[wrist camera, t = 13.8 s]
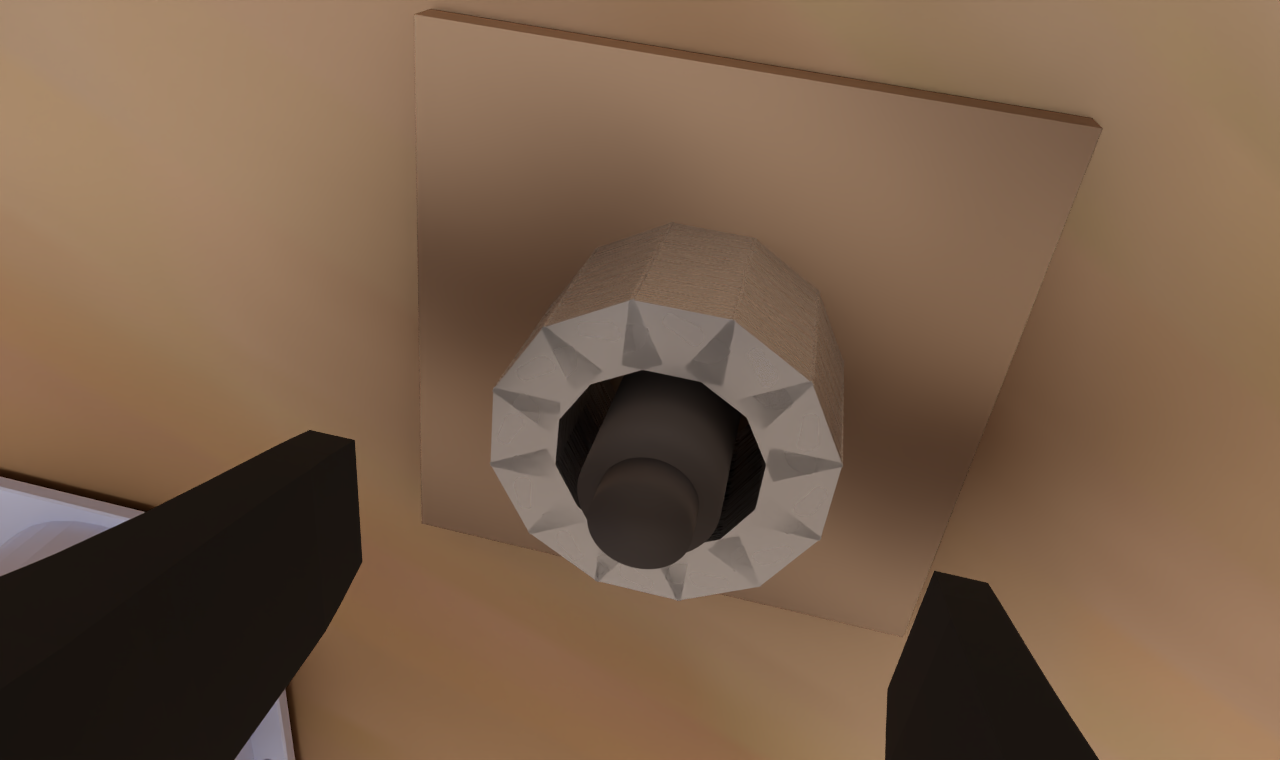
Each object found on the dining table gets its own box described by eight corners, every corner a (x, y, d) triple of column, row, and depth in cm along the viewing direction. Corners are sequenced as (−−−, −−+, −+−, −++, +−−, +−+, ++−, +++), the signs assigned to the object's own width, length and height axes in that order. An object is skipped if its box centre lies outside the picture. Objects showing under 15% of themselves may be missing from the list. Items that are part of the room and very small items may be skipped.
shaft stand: (901, 615, 18) (918, 849, 13) (433, 505, 19) (311, 689, 15) (1092, 117, 12) (1217, 242, 8) (430, 9, 14) (241, 68, 9)
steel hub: (803, 510, 16) (794, 628, 14) (541, 452, 17) (486, 555, 14) (872, 259, 13) (879, 348, 11) (560, 200, 14) (496, 271, 12)
